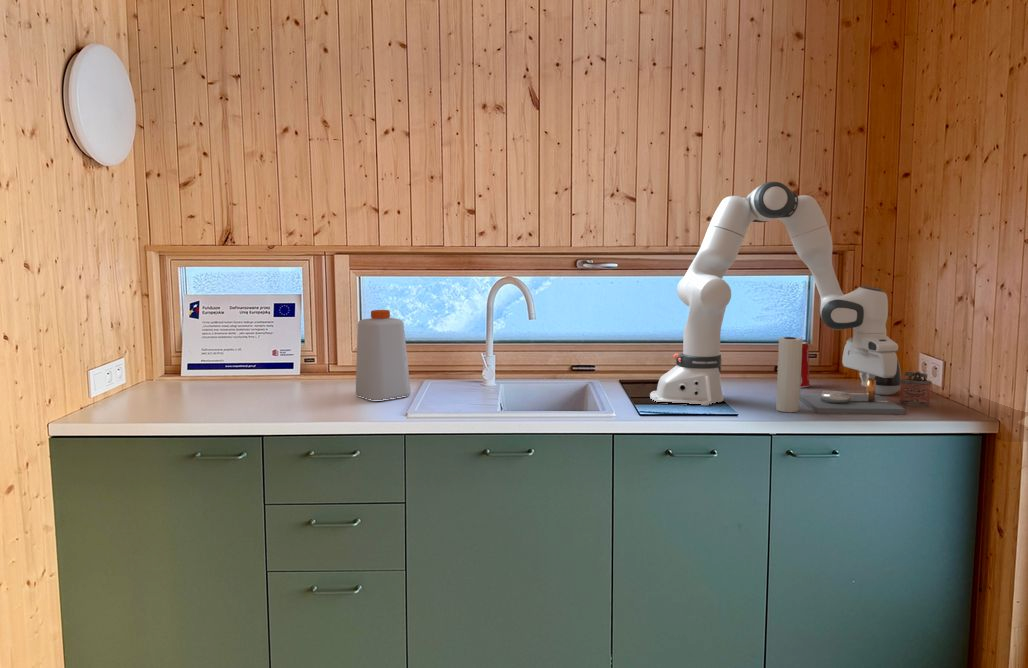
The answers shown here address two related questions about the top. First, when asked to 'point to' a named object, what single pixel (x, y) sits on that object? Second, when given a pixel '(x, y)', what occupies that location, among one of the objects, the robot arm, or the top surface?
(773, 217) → the robot arm
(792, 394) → the paper towel roll
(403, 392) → the plastic bottle
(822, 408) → the slate board
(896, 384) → the black egg-shaped dome
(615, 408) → the top surface
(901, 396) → the brown textured block
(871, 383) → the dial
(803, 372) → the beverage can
